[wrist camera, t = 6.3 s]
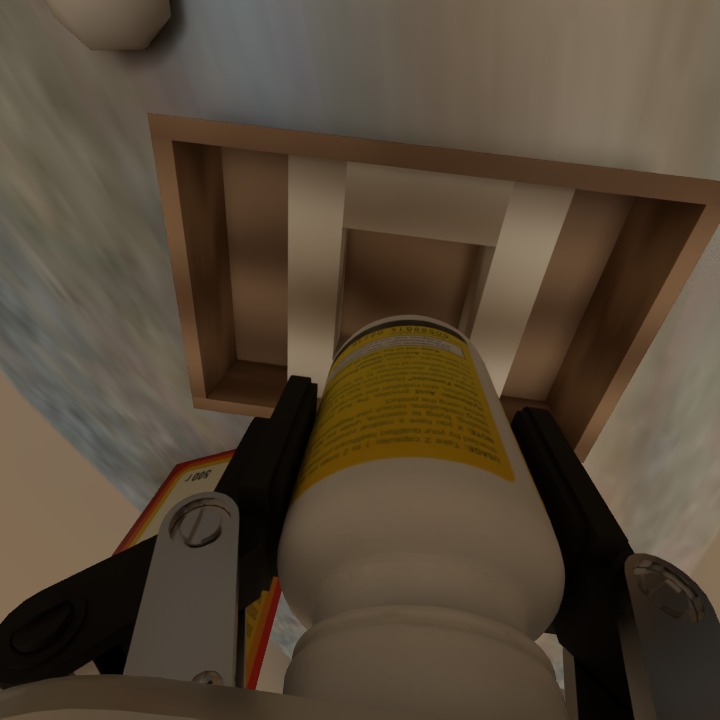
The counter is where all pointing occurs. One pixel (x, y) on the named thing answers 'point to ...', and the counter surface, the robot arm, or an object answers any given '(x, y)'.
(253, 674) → the baking soda box
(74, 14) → the tube
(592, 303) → the crate
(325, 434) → the supplement bottle
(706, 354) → the counter surface
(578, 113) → the counter surface
